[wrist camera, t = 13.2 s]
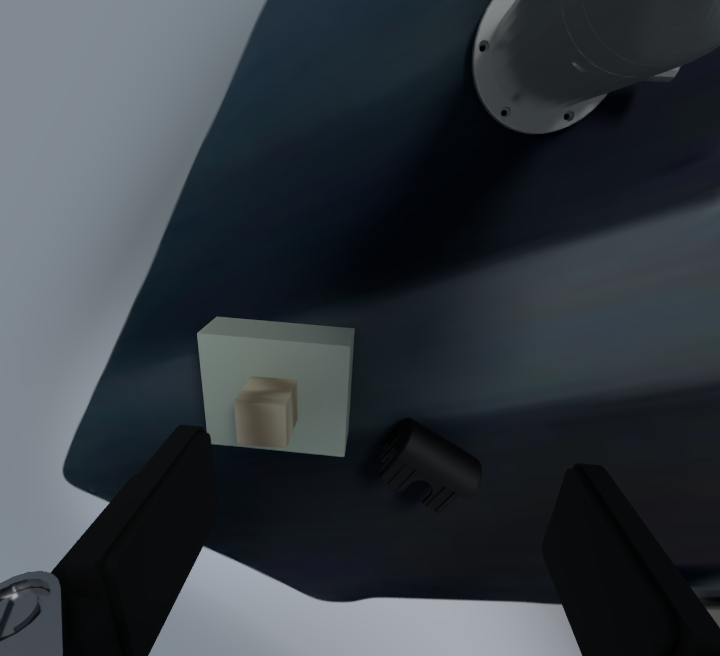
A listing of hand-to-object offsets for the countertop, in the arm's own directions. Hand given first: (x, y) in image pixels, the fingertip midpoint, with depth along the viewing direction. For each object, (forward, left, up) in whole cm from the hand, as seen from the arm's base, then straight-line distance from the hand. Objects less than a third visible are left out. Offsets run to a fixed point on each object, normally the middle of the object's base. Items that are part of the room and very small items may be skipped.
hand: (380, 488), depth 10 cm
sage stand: (+11, +16, -33) cm, 39 cm away
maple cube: (+11, +16, -28) cm, 34 cm away
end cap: (-7, +24, -34) cm, 42 cm away
